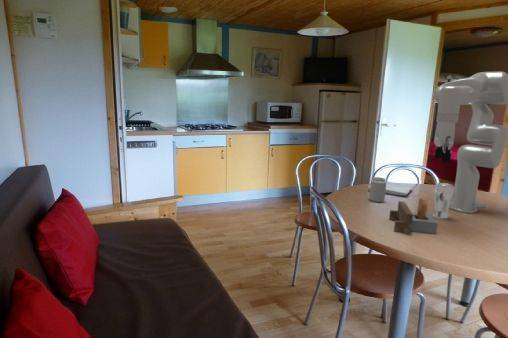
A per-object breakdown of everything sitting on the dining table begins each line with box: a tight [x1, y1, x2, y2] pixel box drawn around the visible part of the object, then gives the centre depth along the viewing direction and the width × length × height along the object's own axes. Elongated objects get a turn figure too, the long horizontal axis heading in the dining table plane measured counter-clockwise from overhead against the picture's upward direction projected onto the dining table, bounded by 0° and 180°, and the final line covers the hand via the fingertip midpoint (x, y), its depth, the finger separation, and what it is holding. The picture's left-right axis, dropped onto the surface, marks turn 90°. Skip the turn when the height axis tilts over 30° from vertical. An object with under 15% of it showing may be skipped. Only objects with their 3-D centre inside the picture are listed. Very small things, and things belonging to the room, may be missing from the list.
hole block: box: [411, 212, 438, 235], centre depth 140 cm, size 10×10×4 cm
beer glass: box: [432, 182, 455, 220], centre depth 154 cm, size 7×7×15 cm
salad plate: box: [367, 180, 414, 197], centre depth 199 cm, size 21×21×3 cm
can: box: [368, 176, 387, 203], centre depth 177 cm, size 8×8×12 cm
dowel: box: [416, 198, 429, 220], centre depth 139 cm, size 3×3×12 cm
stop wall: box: [388, 200, 413, 235], centre depth 142 cm, size 6×18×8 cm, turn 166°
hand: (441, 160), depth 141 cm, fingers open, 9 cm apart
